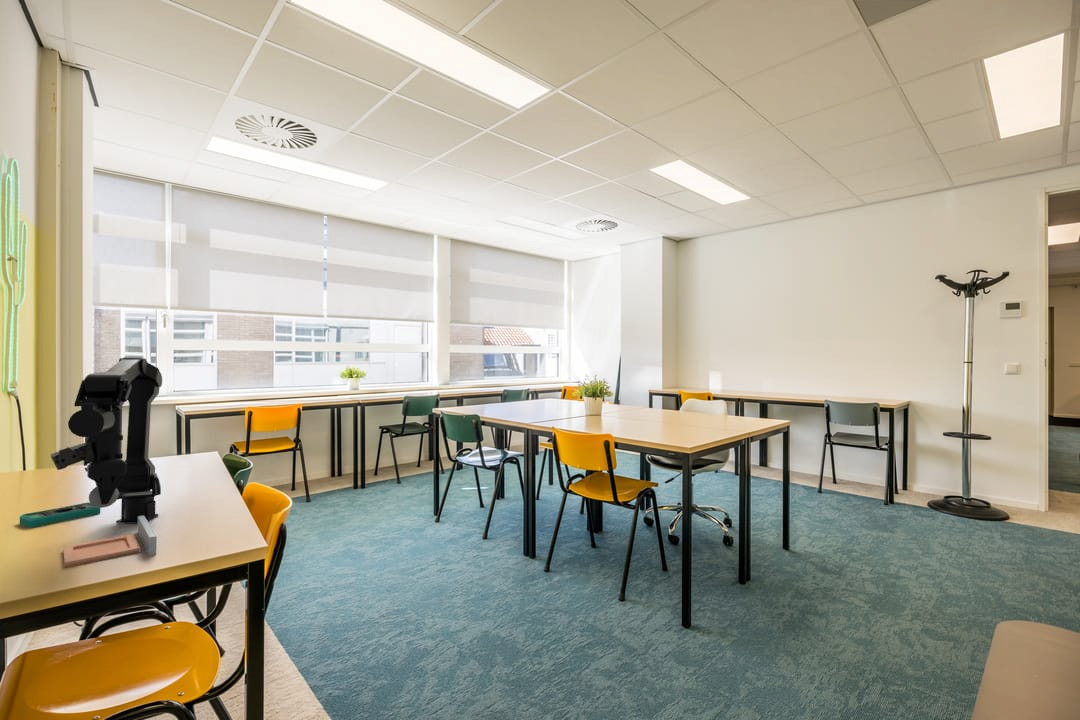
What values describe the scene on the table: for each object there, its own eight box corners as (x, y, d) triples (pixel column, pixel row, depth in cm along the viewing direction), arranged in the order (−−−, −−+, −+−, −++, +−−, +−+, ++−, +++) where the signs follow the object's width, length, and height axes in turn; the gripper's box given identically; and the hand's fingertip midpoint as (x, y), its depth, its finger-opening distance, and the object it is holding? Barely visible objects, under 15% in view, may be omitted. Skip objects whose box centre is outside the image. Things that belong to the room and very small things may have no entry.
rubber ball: (82, 510, 107) (82, 487, 108) (102, 503, 112) (102, 481, 112) (105, 510, 107) (105, 487, 107) (124, 504, 112) (124, 481, 112)
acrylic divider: (137, 532, 122) (137, 516, 122) (143, 531, 123) (143, 515, 123) (149, 556, 108) (149, 537, 108) (156, 554, 109) (156, 536, 109)
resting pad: (63, 551, 110) (63, 546, 110) (133, 538, 118) (133, 533, 118) (64, 567, 101) (64, 562, 101) (139, 552, 110) (140, 547, 110)
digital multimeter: (103, 515, 137) (103, 504, 137) (28, 530, 124) (28, 518, 124) (91, 511, 140) (91, 500, 140) (17, 525, 127) (17, 514, 127)
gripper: (53, 429, 111) (52, 499, 111) (54, 439, 98) (53, 519, 98) (118, 425, 119) (117, 491, 119) (128, 434, 106) (126, 508, 106)
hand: (103, 501), depth 110 cm, fingers closed on rubber ball, 5 cm apart
